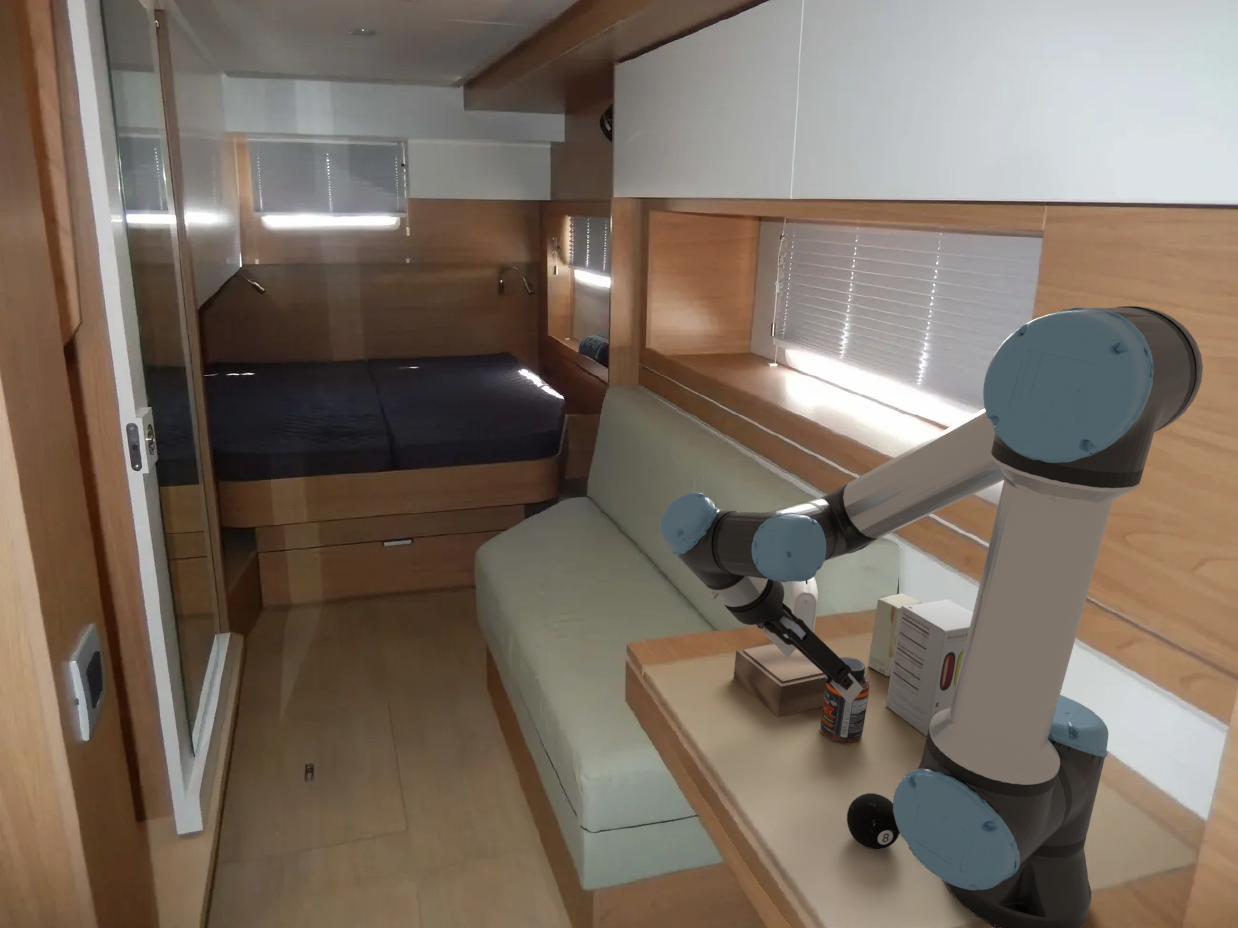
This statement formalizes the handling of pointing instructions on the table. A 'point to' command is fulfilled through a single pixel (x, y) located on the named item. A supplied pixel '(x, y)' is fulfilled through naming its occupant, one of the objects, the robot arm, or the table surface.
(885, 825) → the billiard ball
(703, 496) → the robot arm
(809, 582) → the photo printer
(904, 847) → the table surface
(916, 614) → the supplement box
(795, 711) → the wooden box
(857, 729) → the supplement bottle
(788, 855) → the table surface
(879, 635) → the skincare box
